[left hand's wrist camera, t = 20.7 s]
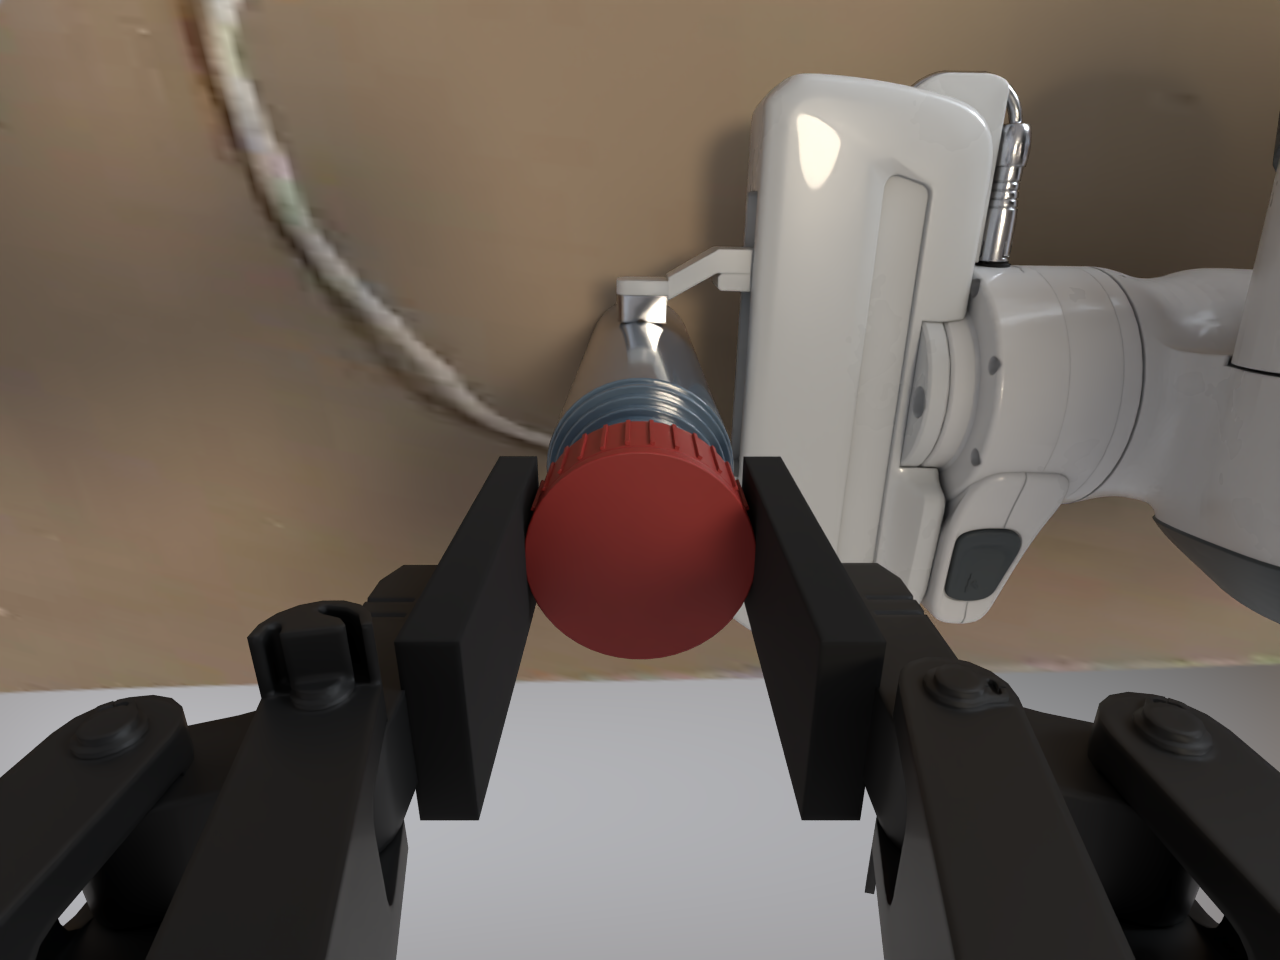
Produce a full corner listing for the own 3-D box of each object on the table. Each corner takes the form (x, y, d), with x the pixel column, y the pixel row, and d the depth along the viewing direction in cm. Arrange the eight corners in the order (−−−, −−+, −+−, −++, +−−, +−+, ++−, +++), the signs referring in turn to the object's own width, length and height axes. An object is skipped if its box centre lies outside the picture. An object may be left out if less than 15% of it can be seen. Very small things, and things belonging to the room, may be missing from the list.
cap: (716, 625, 15) (727, 679, 14) (520, 590, 15) (504, 640, 13) (769, 441, 14) (788, 475, 12) (553, 398, 14) (539, 426, 12)
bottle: (710, 341, 32) (812, 531, 13) (646, 415, 34) (654, 686, 14) (633, 275, 31) (623, 377, 12) (570, 354, 33) (471, 559, 13)
